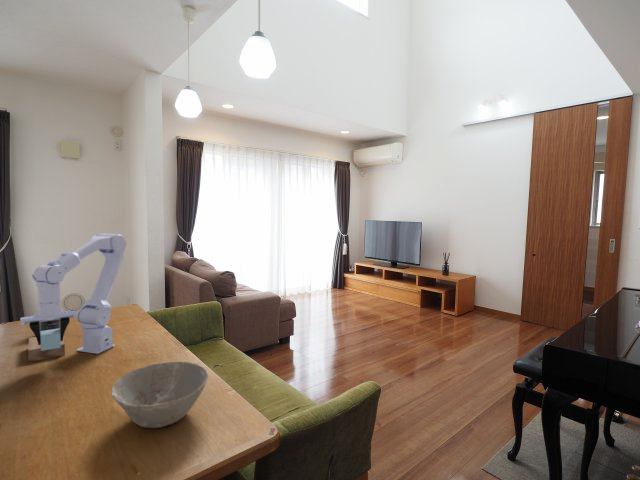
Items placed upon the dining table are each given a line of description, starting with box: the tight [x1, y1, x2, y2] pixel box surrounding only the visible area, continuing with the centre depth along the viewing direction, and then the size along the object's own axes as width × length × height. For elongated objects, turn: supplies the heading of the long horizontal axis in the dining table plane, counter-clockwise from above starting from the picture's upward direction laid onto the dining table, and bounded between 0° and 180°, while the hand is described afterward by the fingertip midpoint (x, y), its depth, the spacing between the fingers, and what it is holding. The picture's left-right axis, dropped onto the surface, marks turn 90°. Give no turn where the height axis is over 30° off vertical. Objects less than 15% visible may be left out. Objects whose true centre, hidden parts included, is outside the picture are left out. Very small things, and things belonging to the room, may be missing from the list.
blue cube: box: [40, 328, 61, 351], centre depth 113 cm, size 5×5×5 cm
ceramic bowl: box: [111, 361, 209, 429], centre depth 88 cm, size 22×23×10 cm
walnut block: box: [27, 335, 66, 362], centre depth 125 cm, size 10×14×4 cm
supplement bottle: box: [40, 319, 60, 335], centre depth 143 cm, size 7×7×12 cm
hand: (50, 342), depth 113 cm, fingers closed on blue cube, 5 cm apart
